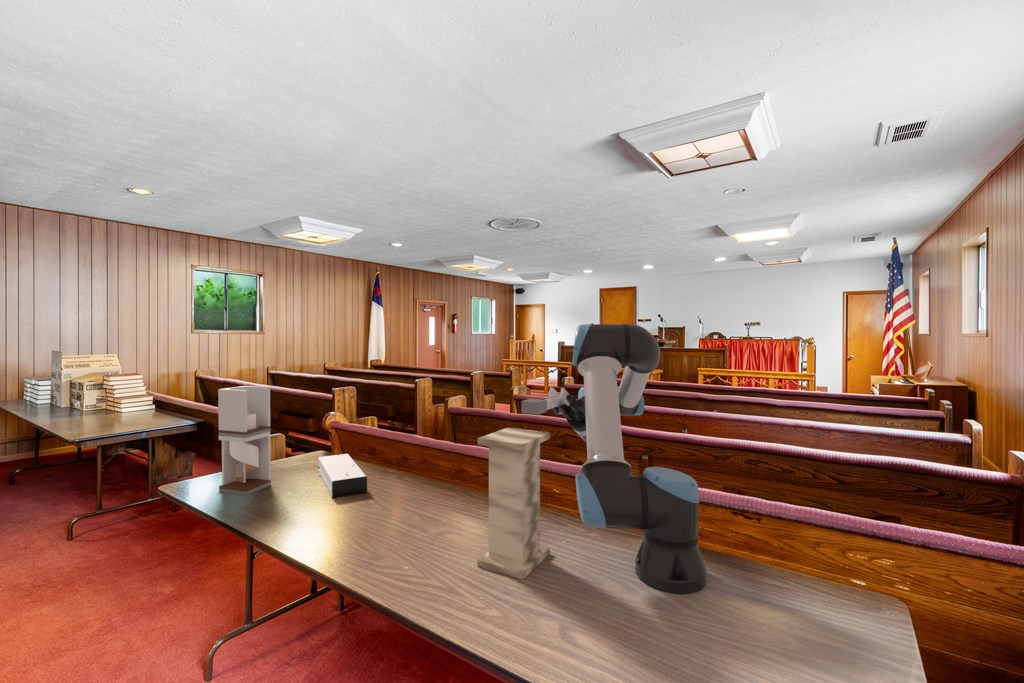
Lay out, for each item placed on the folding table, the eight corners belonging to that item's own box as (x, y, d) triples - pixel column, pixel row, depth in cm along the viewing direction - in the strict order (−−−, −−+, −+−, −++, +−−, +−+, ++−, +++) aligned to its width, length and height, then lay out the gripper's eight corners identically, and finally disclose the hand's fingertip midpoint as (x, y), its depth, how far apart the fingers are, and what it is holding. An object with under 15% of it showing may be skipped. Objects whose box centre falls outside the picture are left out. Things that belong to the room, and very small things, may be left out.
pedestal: (507, 542, 121) (507, 427, 120) (549, 553, 115) (550, 432, 114) (477, 566, 109) (477, 438, 108) (522, 579, 103) (523, 444, 102)
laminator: (367, 494, 158) (367, 476, 158) (328, 500, 152) (328, 481, 151) (348, 468, 187) (348, 453, 187) (315, 473, 181) (315, 457, 181)
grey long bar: (559, 400, 140) (559, 390, 140) (574, 402, 138) (574, 391, 138) (521, 412, 119) (521, 401, 119) (538, 414, 117) (538, 402, 117)
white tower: (219, 491, 159) (218, 389, 158) (245, 482, 169) (244, 385, 168) (245, 495, 155) (244, 390, 155) (270, 485, 166) (270, 387, 165)
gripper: (603, 434, 144) (580, 406, 126) (556, 429, 152) (527, 401, 134) (607, 412, 148) (585, 381, 130) (561, 408, 155) (533, 378, 137)
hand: (556, 391), depth 132 cm, fingers closed on grey long bar, 3 cm apart
